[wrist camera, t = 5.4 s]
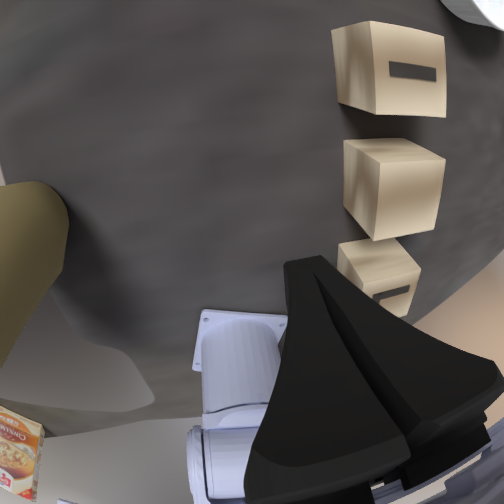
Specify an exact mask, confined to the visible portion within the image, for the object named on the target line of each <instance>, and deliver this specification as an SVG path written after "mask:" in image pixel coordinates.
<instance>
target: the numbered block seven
mask: <svg viewBox="0 0 504 504" xmlns="http://www.w3.org/2000/svg"><path fill="white" fill-rule="evenodd" d="M337 270H338V271H339V272H340V273H341V274H343V275H344V276H345V277H346V278H347V279H348V280H350V281H351V282H352V283H353V284H354V285H356V286H357V287H358V288H359V289H360V290H362V291H363V292H364V293H365V294H366V295H368V296H369V297H370V298H372V299H373V300H374V301H376V302H377V303H378V304H380V305H381V306H382V307H384V308H385V309H386V310H388V311H389V312H391V313H392V314H394V315H395V316H397V317H401V316H404V315H407V313H408V310H409V307H410V304H411V301H412V298H413V295H414V292H415V288H416V285H417V282H418V279H419V275H420V272H421V268H420V267H419V266H418V265H417V264H416V262H415V261H414V260H413V259H412V258H411V256H410V255H409V254H408V253H407V252H406V251H405V249H404V248H403V247H402V246H401V245H400V244H399V243H398V241H397V240H396V239H395V238H394V237H393V238H388V239H383V240H378V241H373V240H372V239H371V238H368V239H362V240H357V241H352V242H346V243H341V244H339V246H338V262H337Z"/></svg>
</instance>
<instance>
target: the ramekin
mask: <svg viewBox="0 0 504 504" xmlns="http://www.w3.org/2000/svg"><path fill="white" fill-rule="evenodd" d="M440 1H441V2H442V3H443V4H444V5H445V6H446V7H447V8H448V9H449V10H450V11H451V12H452V13H453V14H455V15H456V16H457V17H459V18H460V19H462V20H464V21H466V22H469V23H473V24H479V25H485V26H490V27H494V28H496V29H498V30H501V31H504V0H440Z"/></svg>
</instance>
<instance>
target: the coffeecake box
mask: <svg viewBox="0 0 504 504" xmlns="http://www.w3.org/2000/svg"><path fill="white" fill-rule="evenodd" d="M44 435H45V432H44V429H43V426H42V424H40V423H37V422H35V421H32V420H30V419H28V418H25V417H23V416H21V415H19V414H17V413H14V412H12V411H10V410H8V409H6V408H4V407H2V406H0V487H1V488H3V489H5V490H7V491H9V492H12V493H14V494H16V495H18V496H20V497H23V498H25V499H27V500H30V501H32V502H33V501H34V502H36V495H37V483H38V474H39V466H40V459H41V452H42V446H43V441H44Z"/></svg>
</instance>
